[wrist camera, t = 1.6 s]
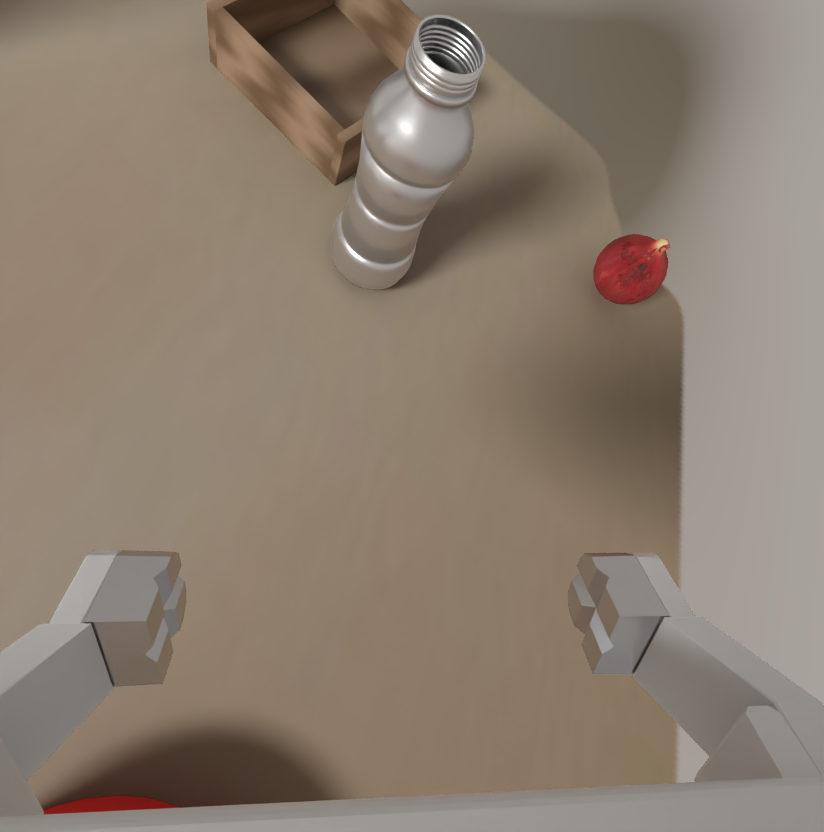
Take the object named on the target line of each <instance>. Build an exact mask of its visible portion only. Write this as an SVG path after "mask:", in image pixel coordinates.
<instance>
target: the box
mask: <svg viewBox="0 0 824 832" xmlns="http://www.w3.org/2000/svg"><path fill="white" fill-rule="evenodd" d="M207 18H208V33H209V48H210V61H211V62H212V63H213V64H214V65H215V66H216V67H217V68H218V69H219V70H220V71H221V72H222V73H223V74H224V75H225V76H226V77H227V78H228V79H229V80H230V81H231V82H232V83H233V84H234V85H235V86H236V87H237V88H238V89H239V90H240V91H241V92H242V93H243V94H244V95H245V96H246V97H247V98H248V99H249V100H250V101H251V102H252V103H253V104H254V105H255V106H256V107H257V108H258V109H259V110H260V111H261V112H262V113H263V114H264V115H265V116H266V117H267V118H268V119H269V120H270V121H271V122H272V123H273V124H274V125H275V126H276V127H277V128H278V129H279V130H280V131H281V132H282V133H283V134H284V135H285V136H286V137H287V138H288V139H289V140H290V141H291V142H292V143H293V144H294V145H295V146H296V147H297V148H298V149H299V150H300V151H301V152H302V153H303V154H304V155H305V156H306V157H307V158H308V159H309V160H310V161H311V162H312V163H313V164H314V165H315V166H316V167H317V168H318V169H319V170H320V171H321V172H322V173H323V174H324V175H325V176H326V177H327V178H328V179H329V180H330V181H331V182H332V183H333V184H334V185H336V184H338V183H339V182H341V181H342V180H344V179H345V178H346V177H348V176H349V175H351V174H352V173H353V172H355V171H356V170H357V169H358V164H359V159H360V149H361V138H362V128H363V127H362V125H363V119H364V114H365V109H366V104H367V102H368V100H369V98H370V96H371V95H372V93H373V92H374V91H375V89H376V88H377V86H378V85H379V84H380V83H381V82H382V81H383V80H384V79H386V78H387V77H389V76H390V75H392V74H393V73H395V72H396V71H398V70H399V69H401V68H404V61H405V57H406V54H407V51H408V49H409V47H410V46H411V44H412V41H413V38H414V34H415V31H416V29H417V27H418V25H419V23H420V22H421V20H420V19H419V18H418V17H417V16H416V15H415V14H414V13H413V12H412V11H411V10H410V9H409V8H408V7H407V6H406V5H405V4H404V3H403V2H402V1H401V0H212V1H210V2H208V3H207Z"/></svg>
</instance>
